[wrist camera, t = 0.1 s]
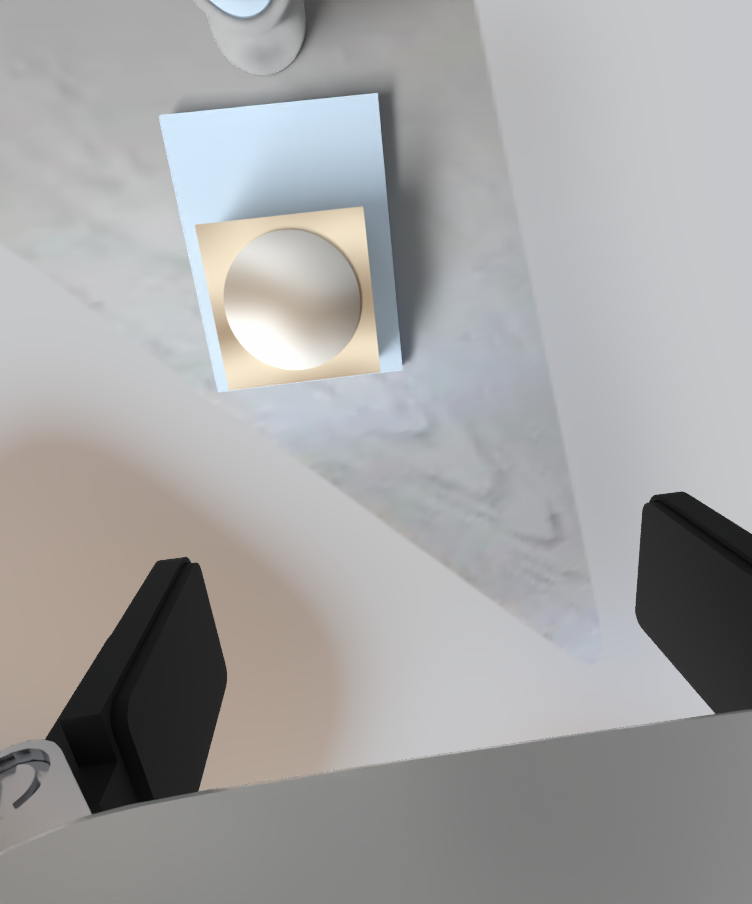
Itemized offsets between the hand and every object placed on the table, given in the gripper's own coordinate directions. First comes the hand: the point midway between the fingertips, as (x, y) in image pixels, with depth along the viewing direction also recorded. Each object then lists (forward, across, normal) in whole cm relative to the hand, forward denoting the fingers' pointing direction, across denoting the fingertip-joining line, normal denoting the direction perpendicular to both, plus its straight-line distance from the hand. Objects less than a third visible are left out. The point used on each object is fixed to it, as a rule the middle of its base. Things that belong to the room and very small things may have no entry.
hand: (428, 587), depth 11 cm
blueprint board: (+31, +4, -8) cm, 32 cm away
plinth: (+30, +4, -5) cm, 30 cm away
